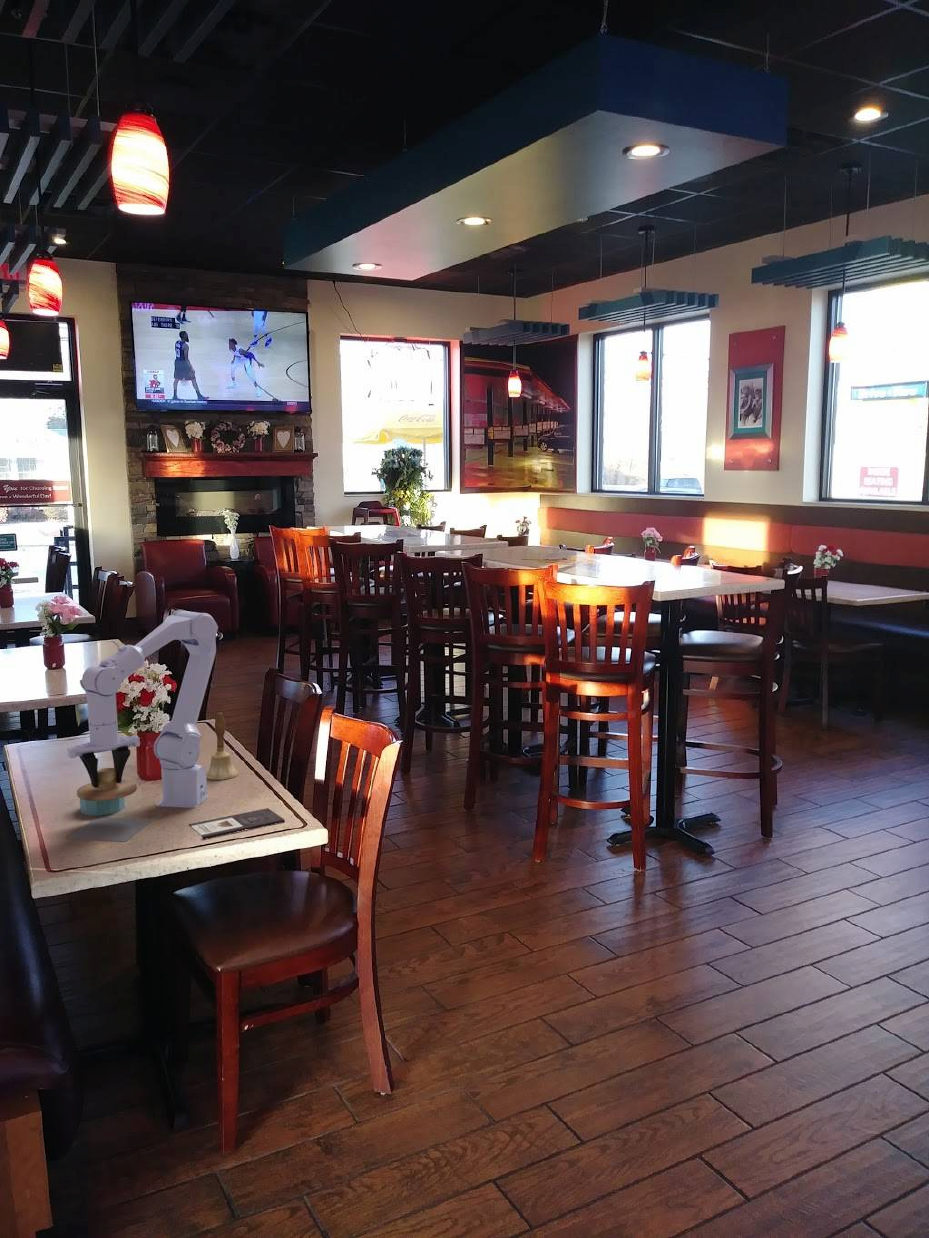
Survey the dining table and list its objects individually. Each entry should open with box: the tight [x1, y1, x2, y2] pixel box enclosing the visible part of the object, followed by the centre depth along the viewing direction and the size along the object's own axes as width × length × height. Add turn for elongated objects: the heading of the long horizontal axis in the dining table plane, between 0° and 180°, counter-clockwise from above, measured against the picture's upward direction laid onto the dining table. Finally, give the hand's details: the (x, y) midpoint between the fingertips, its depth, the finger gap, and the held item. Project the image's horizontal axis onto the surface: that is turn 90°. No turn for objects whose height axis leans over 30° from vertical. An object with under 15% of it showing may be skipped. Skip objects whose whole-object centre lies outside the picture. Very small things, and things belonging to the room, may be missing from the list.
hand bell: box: [206, 711, 239, 781], centre depth 243 cm, size 8×8×16 cm
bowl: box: [79, 797, 125, 817], centre depth 219 cm, size 9×9×4 cm
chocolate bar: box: [188, 807, 285, 840], centre depth 210 cm, size 9×1×18 cm
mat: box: [65, 816, 154, 843], centre depth 206 cm, size 13×13×1 cm
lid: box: [76, 767, 138, 801], centre depth 208 cm, size 12×12×5 cm
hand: (106, 784), depth 209 cm, fingers closed on lid, 4 cm apart
